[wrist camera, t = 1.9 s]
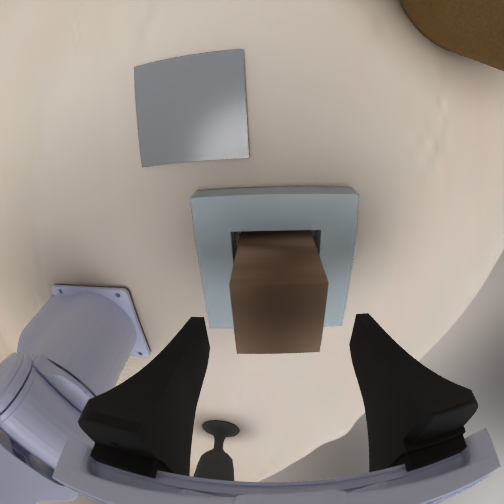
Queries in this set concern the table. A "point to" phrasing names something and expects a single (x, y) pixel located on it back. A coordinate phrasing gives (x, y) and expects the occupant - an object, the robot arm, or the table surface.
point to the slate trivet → (192, 108)
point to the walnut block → (278, 293)
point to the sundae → (217, 453)
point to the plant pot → (462, 26)
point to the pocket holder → (273, 219)
